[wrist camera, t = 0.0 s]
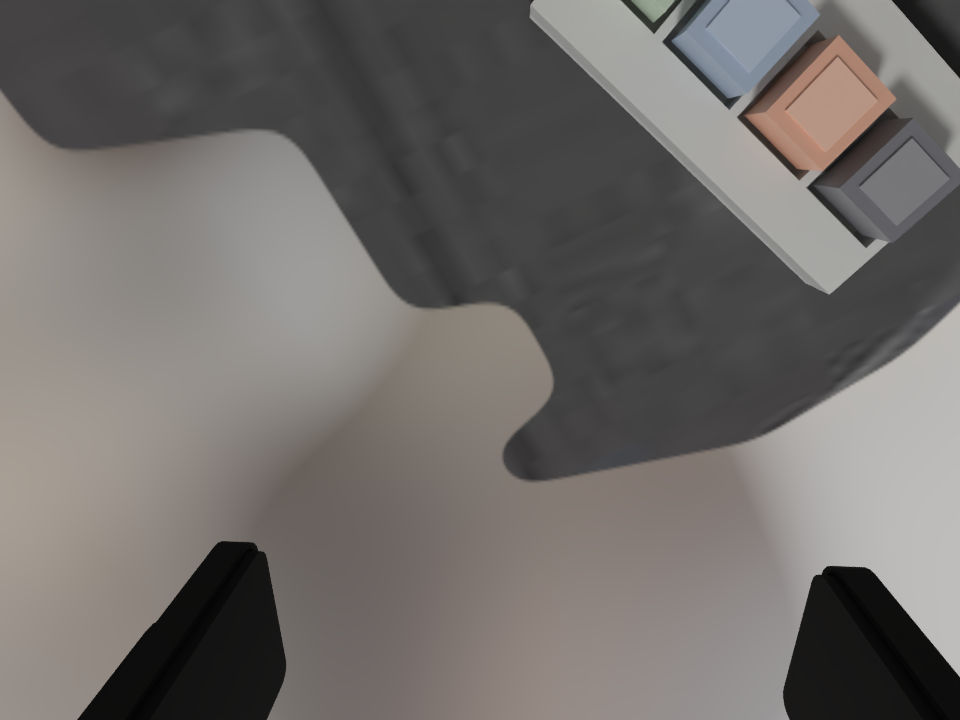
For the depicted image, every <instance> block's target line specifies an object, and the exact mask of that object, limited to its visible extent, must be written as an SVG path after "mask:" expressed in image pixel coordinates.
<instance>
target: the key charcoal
mask: <svg viewBox="0 0 960 720" xmlns="http://www.w3.org/2000/svg"><path fill="white" fill-rule="evenodd" d="M959 184H960V168H959V167H958V166H957V165H956V164H955V163H954V161H953V160H952V159H951V158H950V157H949V156H948V155H947V154H946V153H945V152H944V150H943V149H942V148H941V147H940V146H939V145H938V144H937V143H936V142H935V140H934V139H933V138H932V137H931V136H930V135H929V134H928V133H927V132H926V131H925V129H924V128H923V127H922V126H921V125H920V124H919V123H918V122H917V121H916V120H915V118H903V119H889V120H879V121H878V122H877V123H876V124H875V125H874V126H873V127H872V128H871V129H870V130H869V131H868V132H867V133H866V134H865V135H863V136H862V137H861V138H860V139H859V140H858V141H857V142H856V143H855V144H854V145H853V146H852V147H851V148H850V149H849V150H848V151H847V152H846V153H845V154H844V155H843V156H842V157H841V158H840V159H839V160H838V161H837V162H836V163H835V164H834V165H833V166H832V167H831V168H829V169H828V170H827V171H826V172H825V173H824V174H823V175H822V176H821V177H820V178H819V179H818V180H817V181H816V182H815V183H814V184H813V186H814V187H815V188H816V189H817V190H818V191H819V192H820V193H821V194H822V195H823V196H824V197H825V198H826V199H827V200H828V201H829V202H830V203H831V204H832V205H833V206H834V207H835V208H836V209H837V210H838V211H839V212H840V213H841V214H842V215H843V216H844V217H845V218H846V219H847V220H848V221H849V222H850V223H851V224H852V225H853V226H854V227H855V228H856V229H857V230H858V231H859V232H860V233H861V234H862V235H864V236H868V237H871V238H875V239H879V240H883V241H887V242H890V243H893V242H894V241H896V240H897V239H898V238H899V237H900V236H901V235H902V234H904V233H905V232H906V231H907V230H908V229H909V228H910V227H911V226H913V225H914V224H915V223H916V222H917V221H918V220H919V219H921V218H922V217H923V216H924V215H925V214H926V213H927V212H929V211H930V210H931V209H932V208H933V207H934V206H935V205H936V204H938V203H939V202H940V201H941V200H942V199H943V198H944V197H946V196H947V195H948V194H949V193H950V192H951V191H952V190H954V189H955V188H956V187H957V186H958V185H959Z"/></svg>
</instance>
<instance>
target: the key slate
mask: <svg viewBox="0 0 960 720" xmlns="http://www.w3.org/2000/svg"><path fill="white" fill-rule="evenodd" d="M819 16H820V14H819V13H818V11H817V10H816V9H815V8H814V7H813V6H812V5H811V4H810V3H809V1H808V0H705V1H704V3H703V4H702V5H701V6H700V7H699V9H698V10H697V11H696V12H695V13H694V14H693V16H692V17H691V18H690V19H689V20H688V22H687V23H686V24H685V25H684V26H683V28H682V29H681V30H680V31H679V32H678V34H677V35H676V36H675V37H674V38H673V39H672V41H671V42H672V43H673V44H674V45H675V46H676V47H677V48H678V49H679V50H680V51H681V52H682V53H683V54H684V55H685V56H686V57H687V58H688V59H689V60H690V61H691V62H692V63H693V64H694V65H695V66H696V67H697V68H698V69H699V70H700V71H701V72H702V73H703V74H704V75H705V76H706V77H707V78H708V79H709V80H710V81H711V82H712V83H713V84H714V85H715V86H716V87H717V88H718V89H719V90H720V91H721V92H722V93H723V94H724V95H725V96H726V97H727V98H732V97H736V96H741V95H745V94H748V93H749V92H750V91H751V90H752V88H753V87H754V86H755V85H756V84H757V83H758V82H759V81H760V80H761V79H762V78H763V77H764V75H765V74H766V73H767V72H768V71H769V70H770V69H771V68H772V67H773V66H774V65H775V64H776V62H777V61H778V60H779V59H780V58H781V57H782V56H783V55H784V54H785V53H786V52H787V51H788V49H789V48H790V47H791V46H792V45H793V44H794V43H795V42H796V41H797V40H798V39H799V38H800V36H801V35H802V34H803V33H804V32H805V31H806V30H807V29H808V28H809V27H810V26H811V25H812V23H813V22H814V21H815V20H816V19H817V18H818V17H819Z"/></svg>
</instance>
